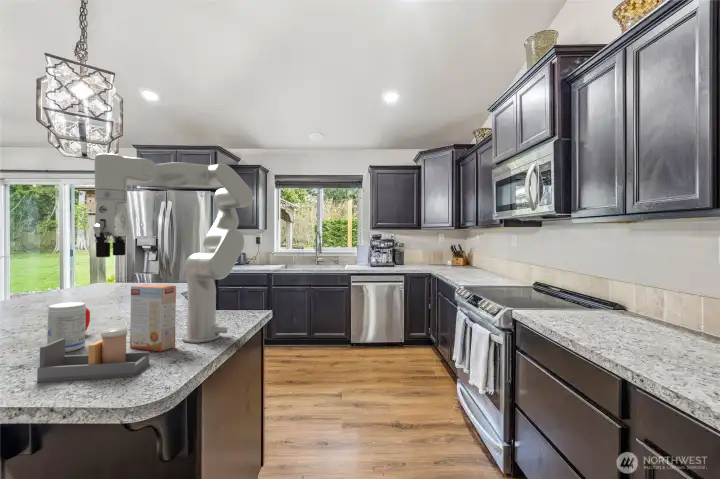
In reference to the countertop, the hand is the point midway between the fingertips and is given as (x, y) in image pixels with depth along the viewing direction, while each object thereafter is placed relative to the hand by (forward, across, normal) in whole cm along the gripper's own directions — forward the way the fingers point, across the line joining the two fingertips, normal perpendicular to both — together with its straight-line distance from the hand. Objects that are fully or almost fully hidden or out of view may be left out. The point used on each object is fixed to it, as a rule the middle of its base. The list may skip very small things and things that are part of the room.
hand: (111, 256), depth 99 cm
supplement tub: (+32, +18, +21) cm, 42 cm away
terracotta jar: (+30, -7, -3) cm, 31 cm away
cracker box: (+32, +14, -6) cm, 35 cm away
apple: (+32, +36, +27) cm, 55 cm away
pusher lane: (+31, -7, +1) cm, 32 cm away
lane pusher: (+30, -7, 0) cm, 31 cm away
